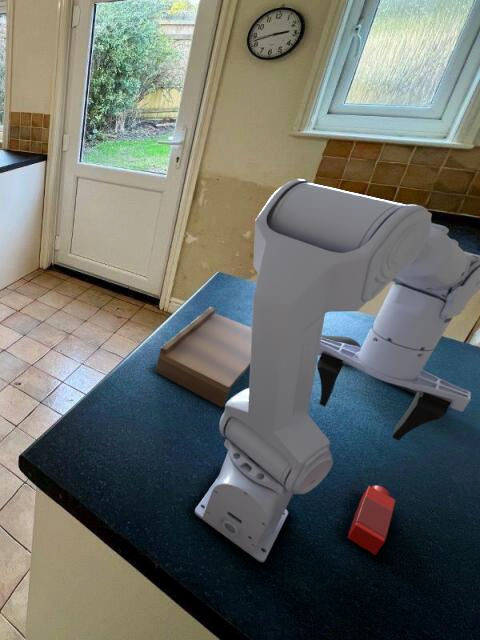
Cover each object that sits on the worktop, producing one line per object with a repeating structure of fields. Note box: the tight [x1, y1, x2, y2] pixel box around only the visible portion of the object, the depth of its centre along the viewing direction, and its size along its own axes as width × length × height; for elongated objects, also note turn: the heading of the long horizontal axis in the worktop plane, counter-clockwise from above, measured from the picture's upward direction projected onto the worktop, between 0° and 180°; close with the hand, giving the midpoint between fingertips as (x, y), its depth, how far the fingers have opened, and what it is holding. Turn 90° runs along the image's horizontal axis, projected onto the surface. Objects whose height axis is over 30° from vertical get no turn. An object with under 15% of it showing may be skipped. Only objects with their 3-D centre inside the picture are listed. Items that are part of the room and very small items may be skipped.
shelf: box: [154, 306, 252, 408], centre depth 80 cm, size 22×12×6 cm, turn 130°
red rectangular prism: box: [347, 484, 396, 556], centre depth 53 cm, size 10×3×3 cm, turn 130°
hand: (358, 417), depth 57 cm, fingers open, 7 cm apart
